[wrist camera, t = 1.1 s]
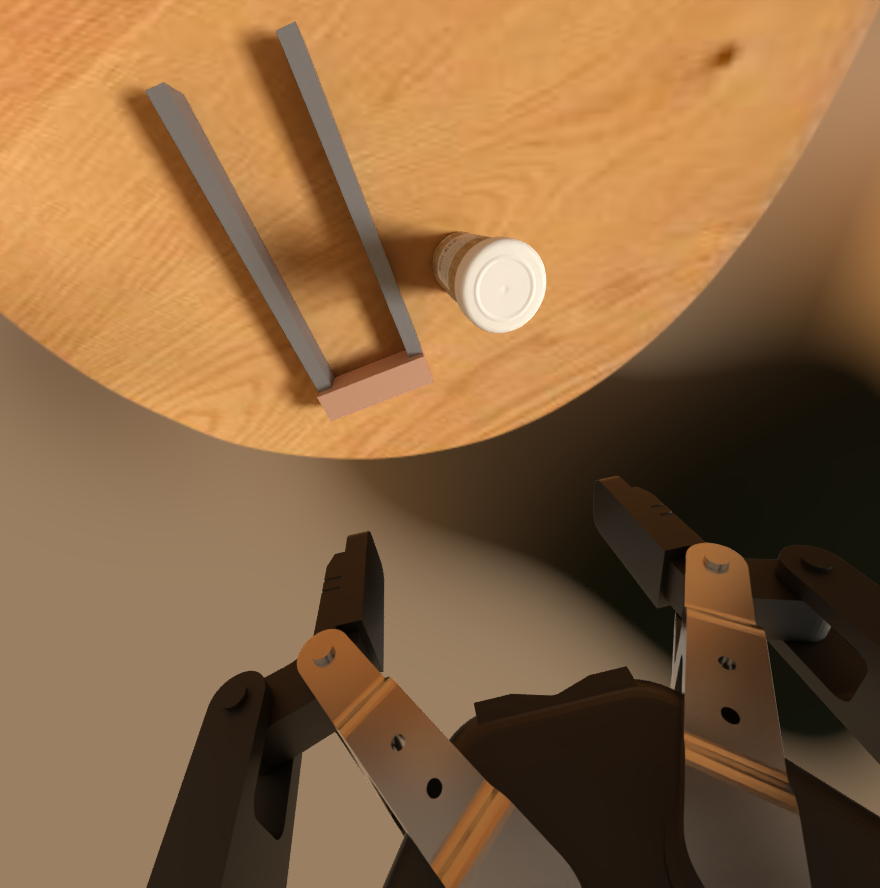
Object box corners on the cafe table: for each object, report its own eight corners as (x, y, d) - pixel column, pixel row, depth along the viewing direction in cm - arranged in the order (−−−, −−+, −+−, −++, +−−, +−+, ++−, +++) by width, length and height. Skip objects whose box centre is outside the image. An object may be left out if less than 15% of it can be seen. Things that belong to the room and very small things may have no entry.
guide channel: (166, 102, 24) (135, 85, 21) (303, 39, 23) (291, 13, 20) (335, 404, 35) (330, 421, 32) (429, 368, 35) (433, 382, 32)
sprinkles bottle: (455, 304, 32) (495, 352, 21) (419, 259, 30) (441, 285, 18) (498, 265, 31) (565, 293, 19) (463, 216, 29) (516, 214, 17)
